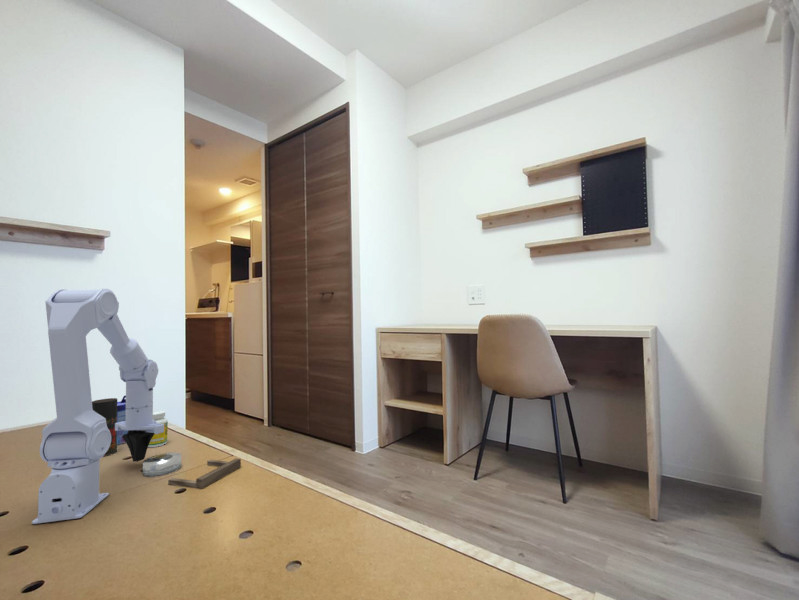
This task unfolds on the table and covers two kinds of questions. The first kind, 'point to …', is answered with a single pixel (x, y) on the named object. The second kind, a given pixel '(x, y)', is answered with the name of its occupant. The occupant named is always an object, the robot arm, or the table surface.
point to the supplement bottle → (161, 437)
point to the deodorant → (108, 419)
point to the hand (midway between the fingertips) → (138, 460)
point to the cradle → (209, 474)
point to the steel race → (161, 464)
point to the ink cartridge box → (121, 419)
